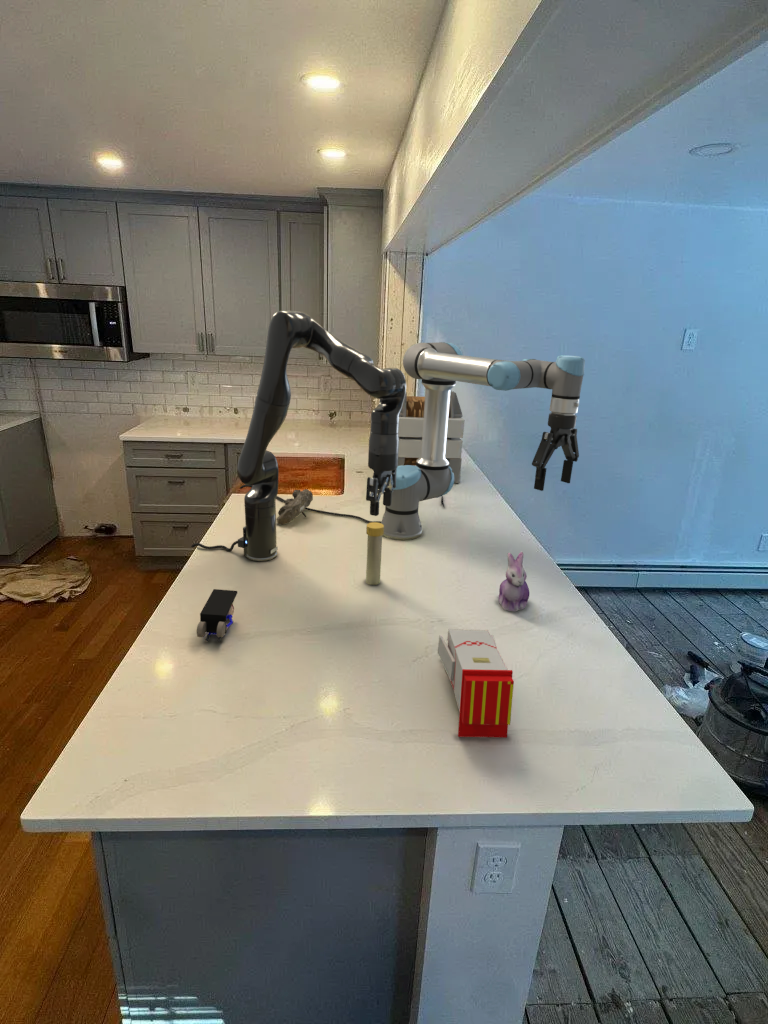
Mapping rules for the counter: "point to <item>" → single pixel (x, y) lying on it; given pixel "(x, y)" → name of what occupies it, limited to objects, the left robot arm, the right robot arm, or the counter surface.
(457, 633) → the toy
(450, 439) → the white storage crate
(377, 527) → the lid
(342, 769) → the counter surface
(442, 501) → the feather
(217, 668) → the counter surface
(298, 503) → the fossil
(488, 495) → the counter surface
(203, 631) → the black wheeled vehicle
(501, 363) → the right robot arm
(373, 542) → the jar
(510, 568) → the figurine
